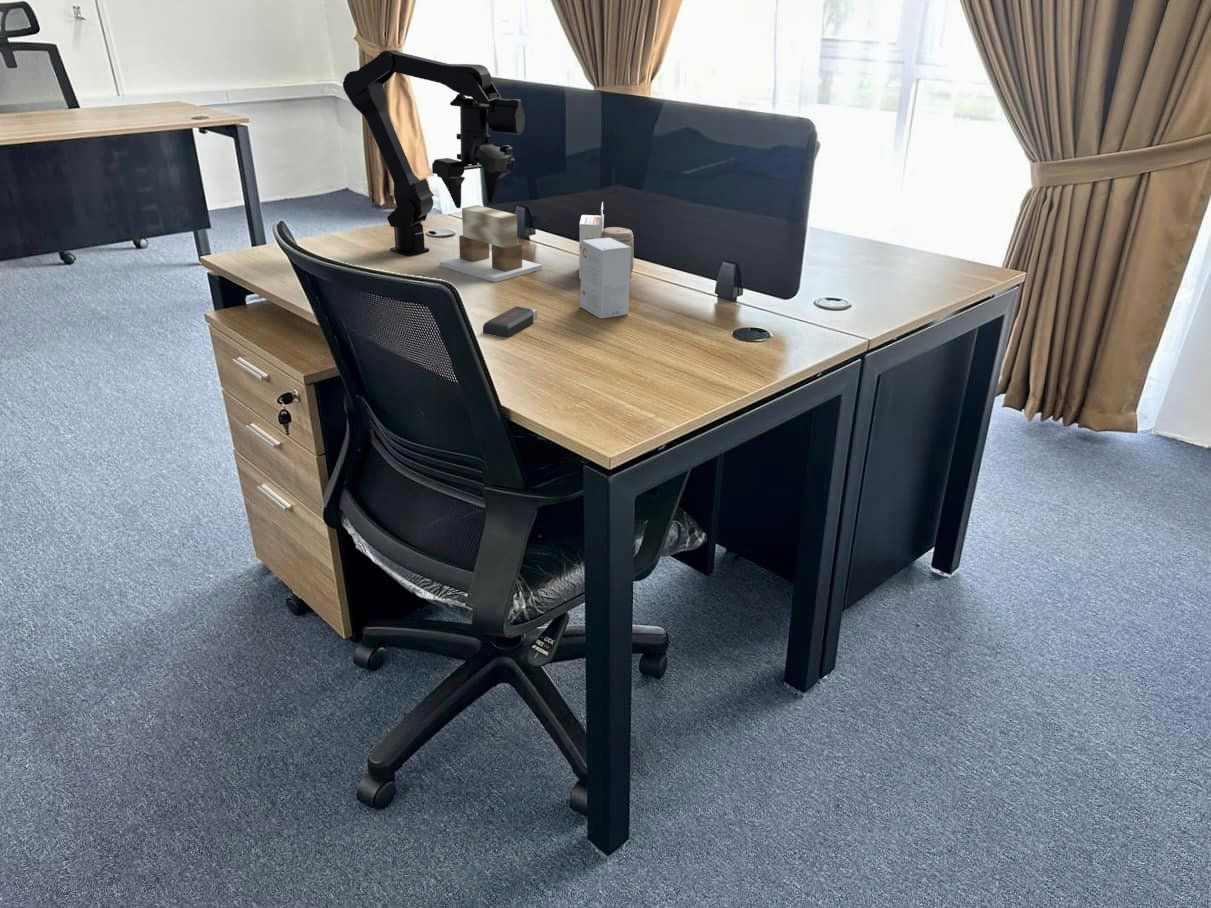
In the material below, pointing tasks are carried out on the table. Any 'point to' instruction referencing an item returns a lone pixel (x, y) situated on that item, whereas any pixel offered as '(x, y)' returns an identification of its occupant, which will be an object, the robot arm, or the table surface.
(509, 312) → the usb drive
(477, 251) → the walnut posts
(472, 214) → the maple beam block
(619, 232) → the carving
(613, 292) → the small box
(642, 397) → the table surface
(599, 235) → the ink cartridge box
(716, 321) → the table surface
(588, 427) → the table surface
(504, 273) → the grey base board
